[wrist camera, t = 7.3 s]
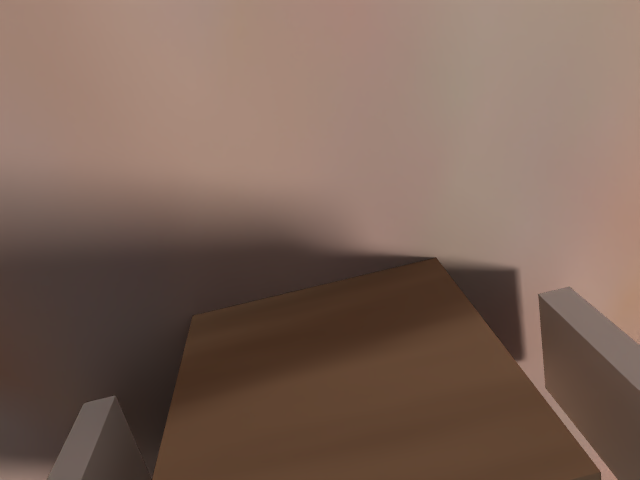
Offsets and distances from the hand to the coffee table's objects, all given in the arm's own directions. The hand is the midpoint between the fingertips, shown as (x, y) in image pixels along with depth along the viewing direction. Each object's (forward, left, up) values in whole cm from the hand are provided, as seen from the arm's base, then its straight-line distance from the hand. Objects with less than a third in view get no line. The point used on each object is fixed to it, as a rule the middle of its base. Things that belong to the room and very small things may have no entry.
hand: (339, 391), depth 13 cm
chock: (0, 0, -1) cm, 1 cm away
